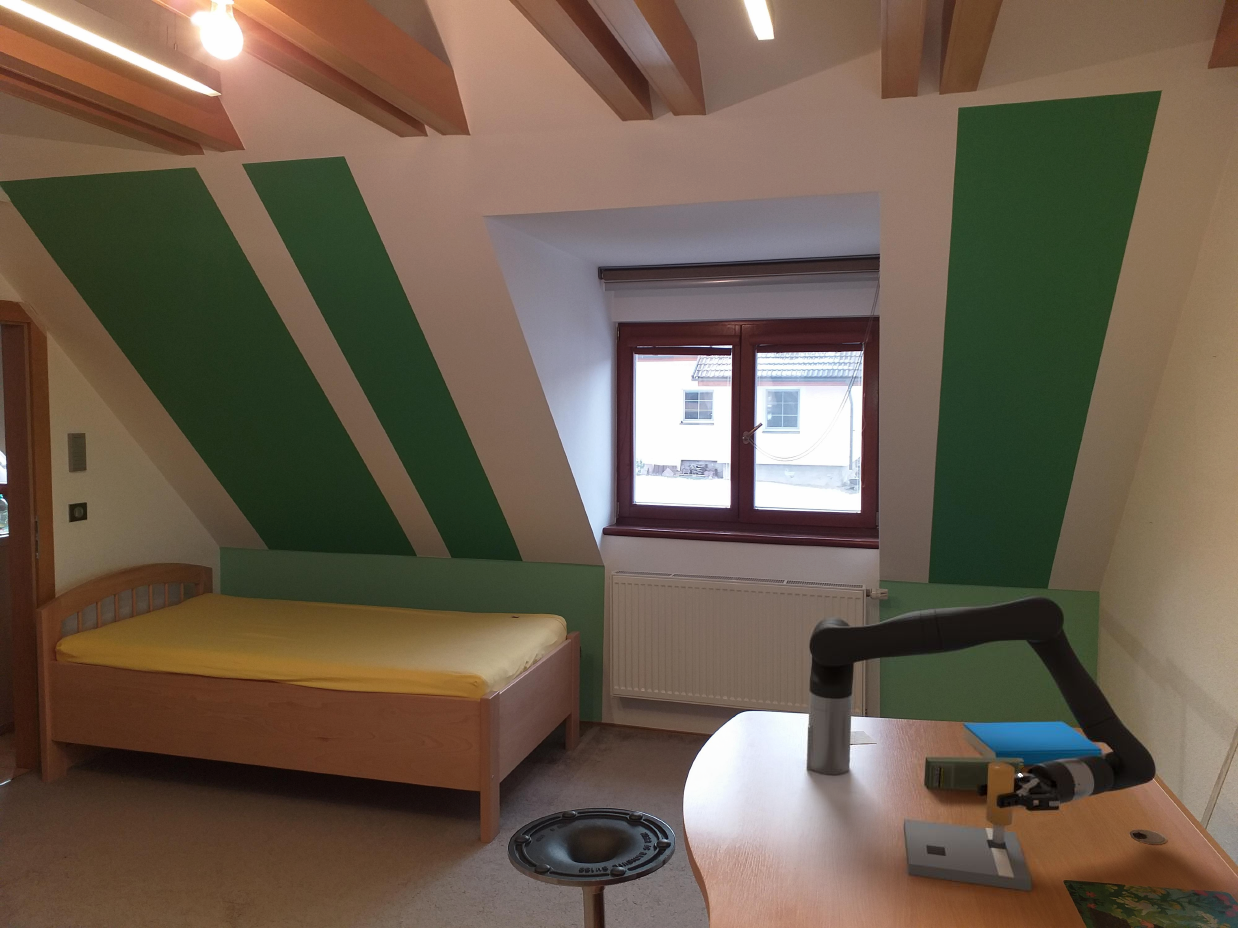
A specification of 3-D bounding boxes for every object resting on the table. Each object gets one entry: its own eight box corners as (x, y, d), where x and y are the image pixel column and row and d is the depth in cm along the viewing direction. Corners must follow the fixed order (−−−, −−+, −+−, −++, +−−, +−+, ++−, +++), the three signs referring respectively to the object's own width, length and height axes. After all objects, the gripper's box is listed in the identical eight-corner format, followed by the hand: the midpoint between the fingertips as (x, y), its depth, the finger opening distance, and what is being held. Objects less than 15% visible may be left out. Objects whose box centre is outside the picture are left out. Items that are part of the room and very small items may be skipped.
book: (962, 723, 225) (1061, 719, 227) (962, 740, 225) (1061, 736, 227) (997, 752, 208) (1103, 747, 210) (996, 770, 208) (1102, 766, 210)
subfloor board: (908, 874, 164) (909, 862, 164) (903, 828, 180) (904, 817, 180) (1030, 890, 159) (1031, 878, 159) (1014, 841, 175) (1015, 831, 175)
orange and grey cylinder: (987, 844, 169) (990, 770, 167) (983, 833, 173) (986, 760, 171) (1013, 847, 168) (1016, 773, 166) (1009, 836, 172) (1012, 763, 170)
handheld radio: (922, 783, 200) (1039, 785, 200) (927, 791, 197) (1046, 793, 197) (924, 754, 199) (1041, 756, 199) (929, 761, 196) (1048, 763, 196)
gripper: (1032, 747, 181) (961, 760, 174) (1093, 777, 167) (1018, 792, 161) (1030, 784, 181) (959, 798, 175) (1091, 817, 168) (1017, 834, 162)
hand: (988, 795), depth 168 cm, fingers closed on orange and grey cylinder, 4 cm apart
